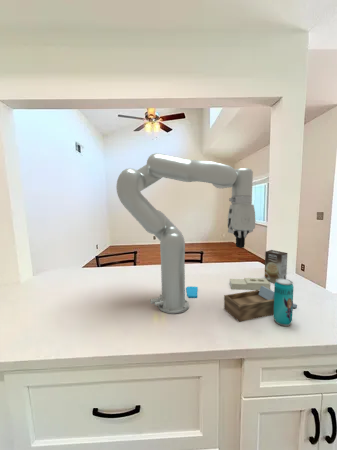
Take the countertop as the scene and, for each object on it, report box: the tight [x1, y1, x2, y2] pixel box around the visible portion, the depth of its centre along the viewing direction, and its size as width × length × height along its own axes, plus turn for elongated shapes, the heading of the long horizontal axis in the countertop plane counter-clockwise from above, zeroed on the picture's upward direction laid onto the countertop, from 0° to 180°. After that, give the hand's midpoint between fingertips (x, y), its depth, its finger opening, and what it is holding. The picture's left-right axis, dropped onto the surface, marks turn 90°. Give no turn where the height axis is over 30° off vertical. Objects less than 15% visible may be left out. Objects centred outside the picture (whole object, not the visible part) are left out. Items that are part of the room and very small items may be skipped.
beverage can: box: [273, 278, 294, 327], centre depth 74 cm, size 6×6×15 cm
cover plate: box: [258, 286, 298, 309], centre depth 87 cm, size 13×7×4 cm, turn 106°
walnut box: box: [223, 290, 274, 323], centre depth 83 cm, size 16×10×6 cm, turn 107°
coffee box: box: [263, 249, 288, 284], centre depth 113 cm, size 9×6×16 cm
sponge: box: [185, 286, 199, 299], centre depth 102 cm, size 2×12×6 cm
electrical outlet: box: [229, 277, 271, 291], centre depth 107 cm, size 7×4×18 cm
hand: (240, 247), depth 86 cm, fingers closed
